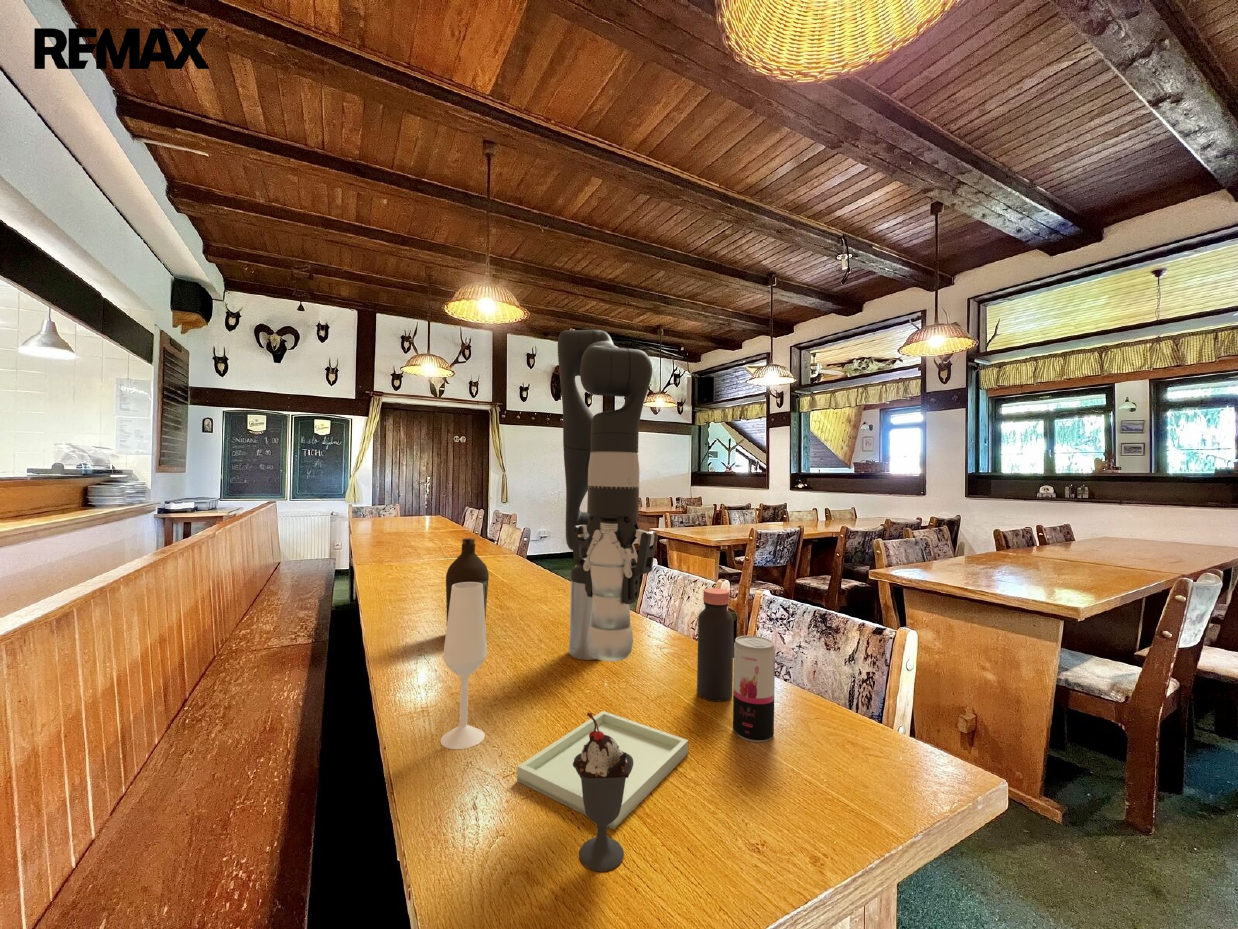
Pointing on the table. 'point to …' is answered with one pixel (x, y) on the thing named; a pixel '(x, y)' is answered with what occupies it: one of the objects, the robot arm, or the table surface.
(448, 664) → the champagne flute
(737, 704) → the beverage can
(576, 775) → the tray
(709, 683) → the dark grey water bottle
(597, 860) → the sundae
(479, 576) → the olive oil
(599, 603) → the silver metal bottle
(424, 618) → the table surface
